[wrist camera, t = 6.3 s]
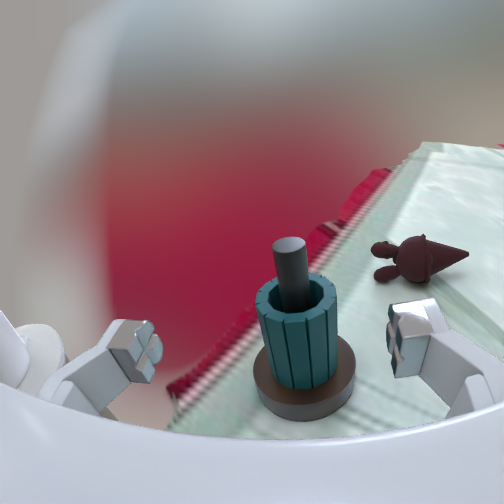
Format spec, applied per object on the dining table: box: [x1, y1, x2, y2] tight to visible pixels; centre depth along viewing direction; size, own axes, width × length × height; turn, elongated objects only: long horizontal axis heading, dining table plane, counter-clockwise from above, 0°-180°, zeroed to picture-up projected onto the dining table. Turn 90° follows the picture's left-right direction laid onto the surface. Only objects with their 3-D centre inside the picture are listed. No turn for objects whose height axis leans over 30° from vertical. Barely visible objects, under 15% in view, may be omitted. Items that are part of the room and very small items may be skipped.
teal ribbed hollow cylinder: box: [255, 273, 338, 390], centre depth 26 cm, size 6×6×8 cm
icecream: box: [371, 234, 469, 283], centre depth 38 cm, size 7×7×15 cm
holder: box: [253, 237, 356, 421], centre depth 26 cm, size 10×10×16 cm
